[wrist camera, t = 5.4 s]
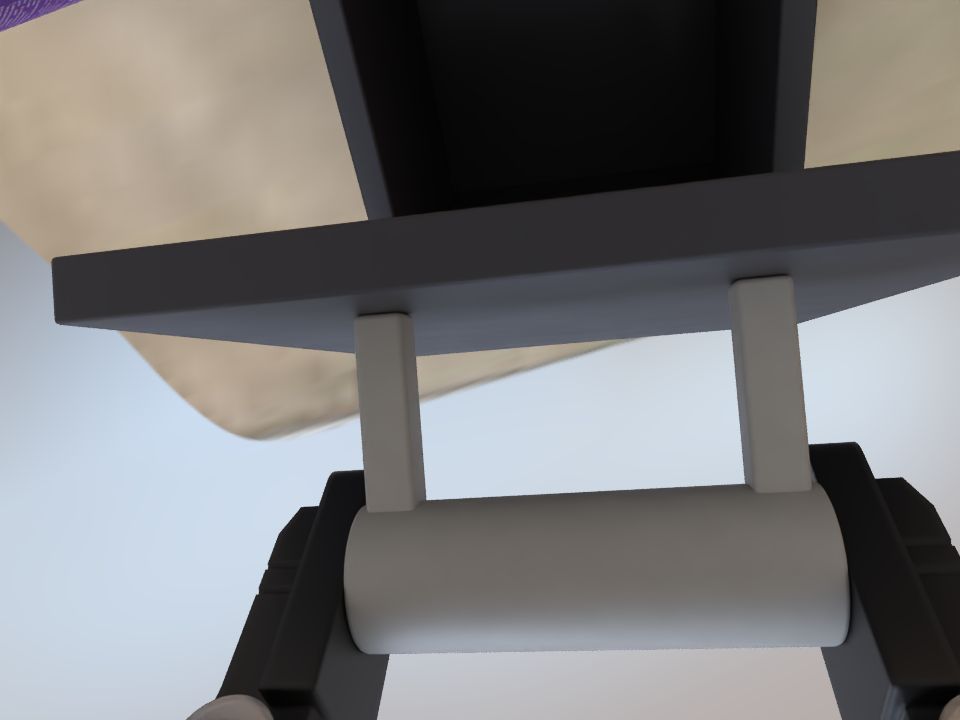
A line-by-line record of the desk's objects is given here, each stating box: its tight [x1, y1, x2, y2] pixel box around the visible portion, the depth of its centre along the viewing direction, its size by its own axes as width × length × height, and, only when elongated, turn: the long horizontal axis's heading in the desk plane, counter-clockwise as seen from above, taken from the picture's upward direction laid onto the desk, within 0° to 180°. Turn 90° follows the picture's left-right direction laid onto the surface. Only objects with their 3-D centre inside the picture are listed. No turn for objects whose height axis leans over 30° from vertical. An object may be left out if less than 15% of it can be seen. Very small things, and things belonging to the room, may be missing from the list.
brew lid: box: [52, 150, 960, 654], centre depth 15 cm, size 14×12×5 cm
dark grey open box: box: [309, 0, 817, 220], centre depth 23 cm, size 14×12×10 cm
